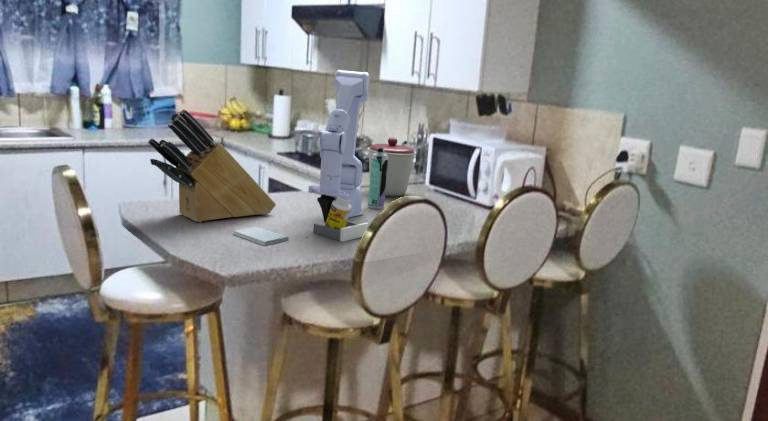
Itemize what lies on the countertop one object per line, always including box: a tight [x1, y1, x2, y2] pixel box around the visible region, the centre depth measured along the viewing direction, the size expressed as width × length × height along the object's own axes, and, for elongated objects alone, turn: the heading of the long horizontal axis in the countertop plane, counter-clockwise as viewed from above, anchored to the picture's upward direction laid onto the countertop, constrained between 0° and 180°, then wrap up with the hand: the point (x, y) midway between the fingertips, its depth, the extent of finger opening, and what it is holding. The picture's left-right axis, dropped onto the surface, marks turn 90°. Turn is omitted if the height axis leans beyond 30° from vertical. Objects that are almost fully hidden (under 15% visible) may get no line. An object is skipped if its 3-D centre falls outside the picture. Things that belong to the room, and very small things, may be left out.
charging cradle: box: [312, 220, 370, 243], centre depth 174 cm, size 11×11×4 cm
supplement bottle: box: [324, 196, 351, 231], centre depth 174 cm, size 6×6×10 cm
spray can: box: [367, 148, 388, 210], centre depth 209 cm, size 6×6×20 cm
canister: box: [367, 136, 417, 197], centre depth 231 cm, size 18×18×21 cm
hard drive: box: [232, 226, 290, 246], centre depth 165 cm, size 2×8×12 cm
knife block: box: [147, 109, 277, 223], centre depth 178 cm, size 11×35×31 cm, turn 132°
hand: (327, 222), depth 177 cm, fingers closed
